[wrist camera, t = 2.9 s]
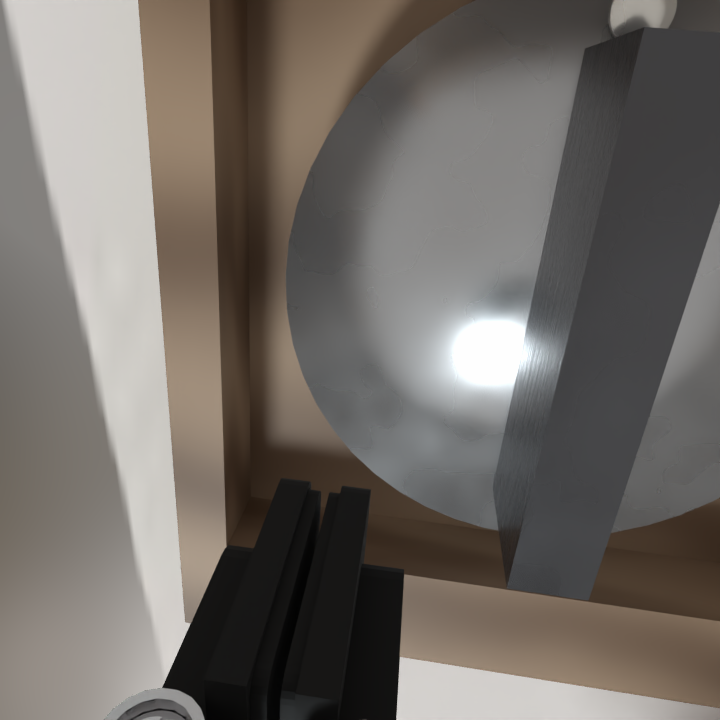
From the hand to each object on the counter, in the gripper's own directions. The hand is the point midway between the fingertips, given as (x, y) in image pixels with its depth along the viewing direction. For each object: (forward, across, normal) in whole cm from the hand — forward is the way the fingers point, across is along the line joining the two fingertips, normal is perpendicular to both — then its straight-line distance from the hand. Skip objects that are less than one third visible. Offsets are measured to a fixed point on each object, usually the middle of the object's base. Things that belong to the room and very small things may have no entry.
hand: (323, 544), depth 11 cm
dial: (+7, -5, -3) cm, 9 cm away
